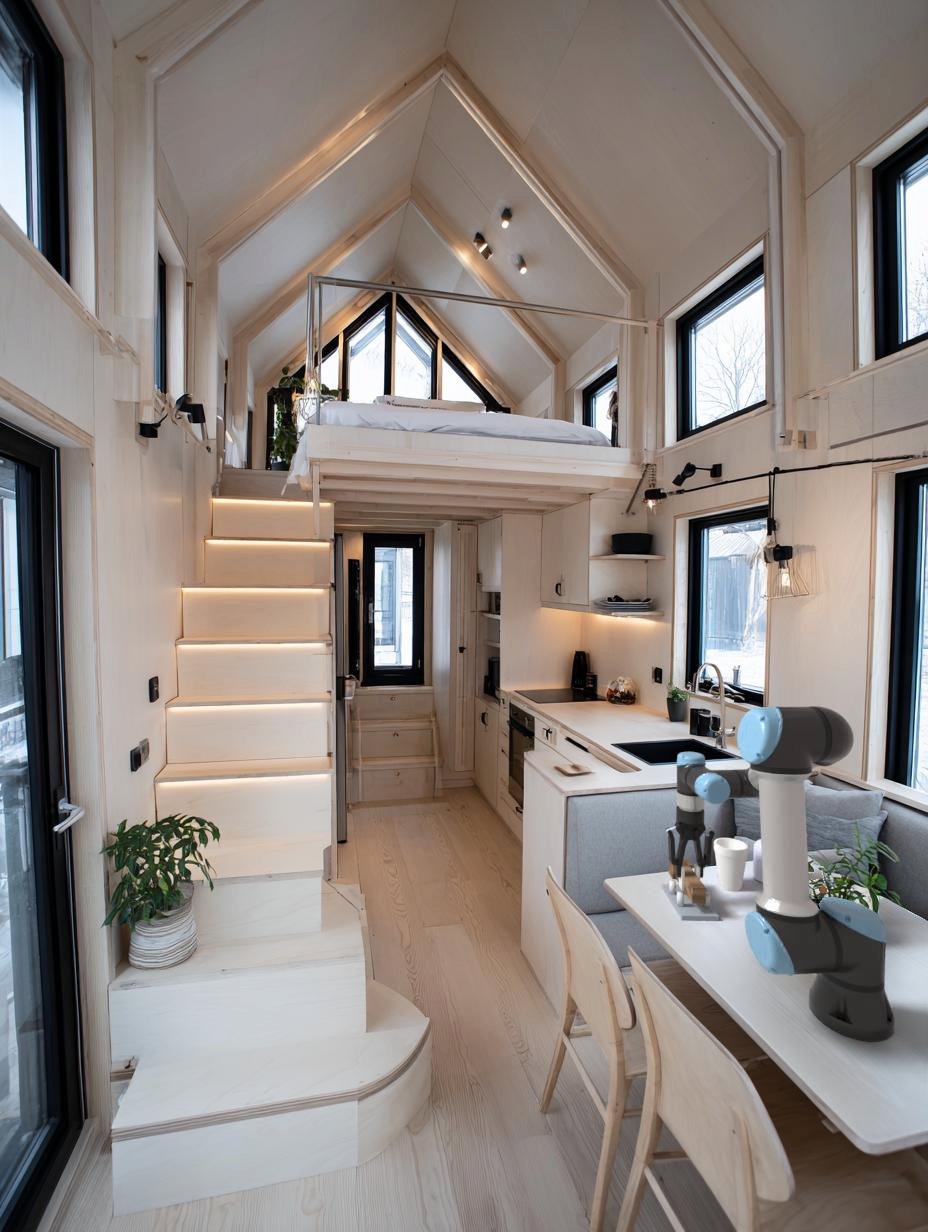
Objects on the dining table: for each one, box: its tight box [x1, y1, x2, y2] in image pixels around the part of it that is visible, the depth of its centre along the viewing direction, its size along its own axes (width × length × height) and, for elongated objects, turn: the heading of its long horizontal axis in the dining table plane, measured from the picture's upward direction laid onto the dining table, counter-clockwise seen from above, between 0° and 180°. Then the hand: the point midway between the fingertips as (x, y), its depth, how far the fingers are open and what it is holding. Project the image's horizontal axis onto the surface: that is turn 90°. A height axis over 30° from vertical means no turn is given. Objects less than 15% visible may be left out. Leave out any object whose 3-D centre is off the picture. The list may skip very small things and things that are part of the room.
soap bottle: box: [752, 838, 763, 884], centre depth 189 cm, size 9×9×25 cm
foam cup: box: [713, 837, 749, 892], centre depth 184 cm, size 10×9×13 cm
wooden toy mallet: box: [668, 858, 707, 904], centre depth 175 cm, size 18×6×4 cm, turn 178°
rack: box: [661, 879, 720, 922], centre depth 174 cm, size 18×10×5 cm, turn 178°
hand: (689, 887), depth 174 cm, fingers closed on wooden toy mallet, 4 cm apart
